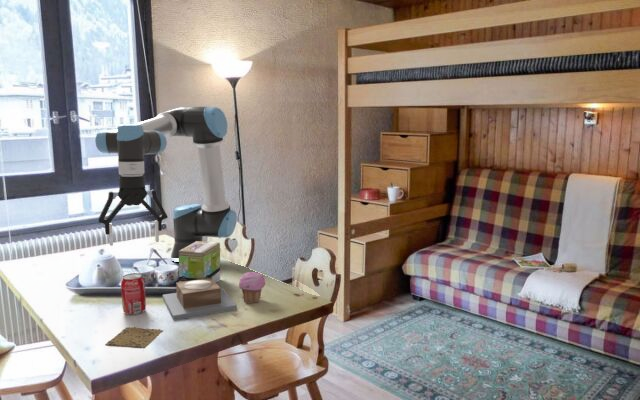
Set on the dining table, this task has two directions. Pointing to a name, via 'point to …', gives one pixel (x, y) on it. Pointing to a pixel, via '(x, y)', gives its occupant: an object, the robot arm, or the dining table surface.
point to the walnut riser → (198, 293)
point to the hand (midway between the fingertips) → (134, 242)
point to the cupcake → (251, 286)
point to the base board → (180, 313)
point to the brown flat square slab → (134, 337)
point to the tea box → (199, 261)
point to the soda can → (133, 294)
